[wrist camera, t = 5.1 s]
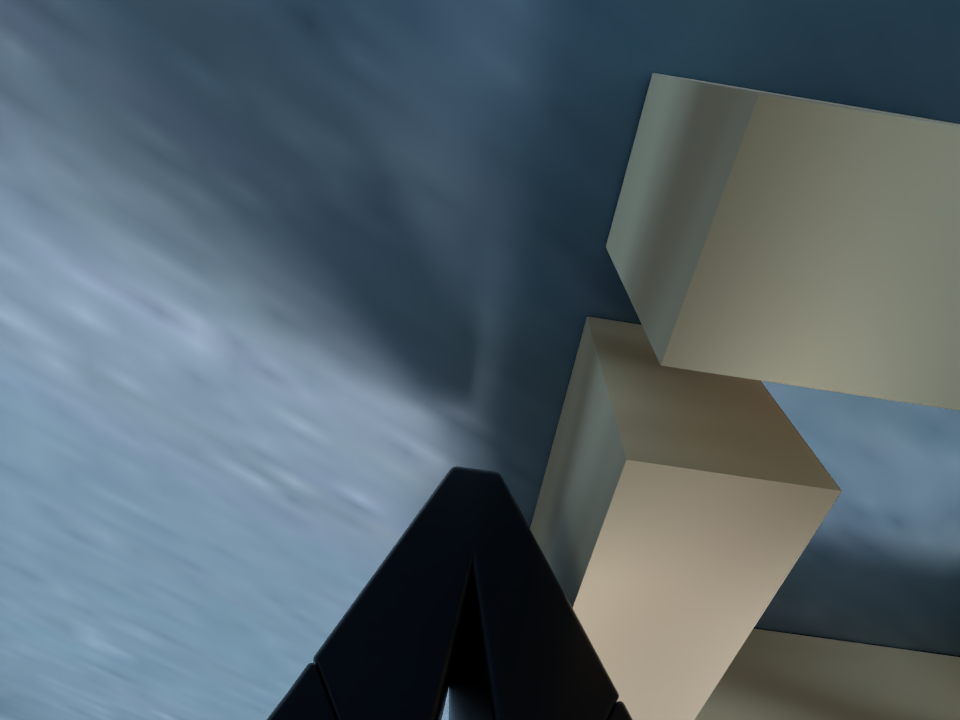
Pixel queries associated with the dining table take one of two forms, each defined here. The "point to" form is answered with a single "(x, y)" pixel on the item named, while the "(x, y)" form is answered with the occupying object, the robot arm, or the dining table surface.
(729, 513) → the beech collar
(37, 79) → the dining table surface
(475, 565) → the robot arm
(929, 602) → the dining table surface
